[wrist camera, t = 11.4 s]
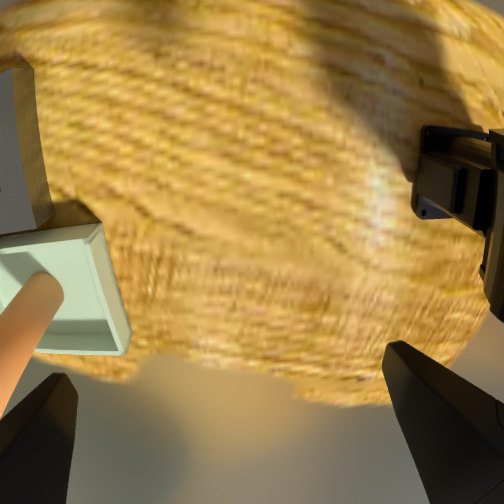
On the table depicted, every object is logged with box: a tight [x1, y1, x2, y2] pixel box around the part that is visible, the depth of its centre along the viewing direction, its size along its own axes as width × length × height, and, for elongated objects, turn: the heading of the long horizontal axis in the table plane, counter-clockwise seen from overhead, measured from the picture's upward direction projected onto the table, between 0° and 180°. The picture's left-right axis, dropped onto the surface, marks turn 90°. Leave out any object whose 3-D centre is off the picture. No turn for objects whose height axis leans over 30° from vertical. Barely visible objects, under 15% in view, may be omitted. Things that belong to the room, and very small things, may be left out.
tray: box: [0, 223, 133, 355], centre depth 20 cm, size 12×9×2 cm
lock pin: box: [0, 272, 64, 418], centre depth 15 cm, size 3×3×13 cm
